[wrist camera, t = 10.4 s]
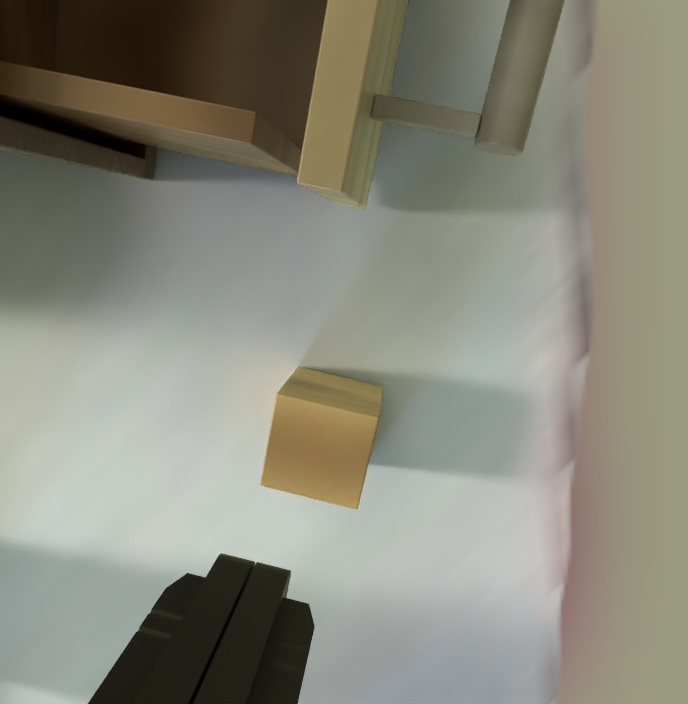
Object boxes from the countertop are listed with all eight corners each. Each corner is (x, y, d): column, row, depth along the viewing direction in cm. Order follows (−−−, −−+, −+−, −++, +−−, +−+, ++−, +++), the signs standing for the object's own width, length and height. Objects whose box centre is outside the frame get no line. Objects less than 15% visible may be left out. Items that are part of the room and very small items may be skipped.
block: (364, 464, 23) (357, 510, 19) (283, 444, 23) (259, 486, 20) (383, 386, 22) (379, 417, 18) (298, 365, 22) (276, 393, 19)
